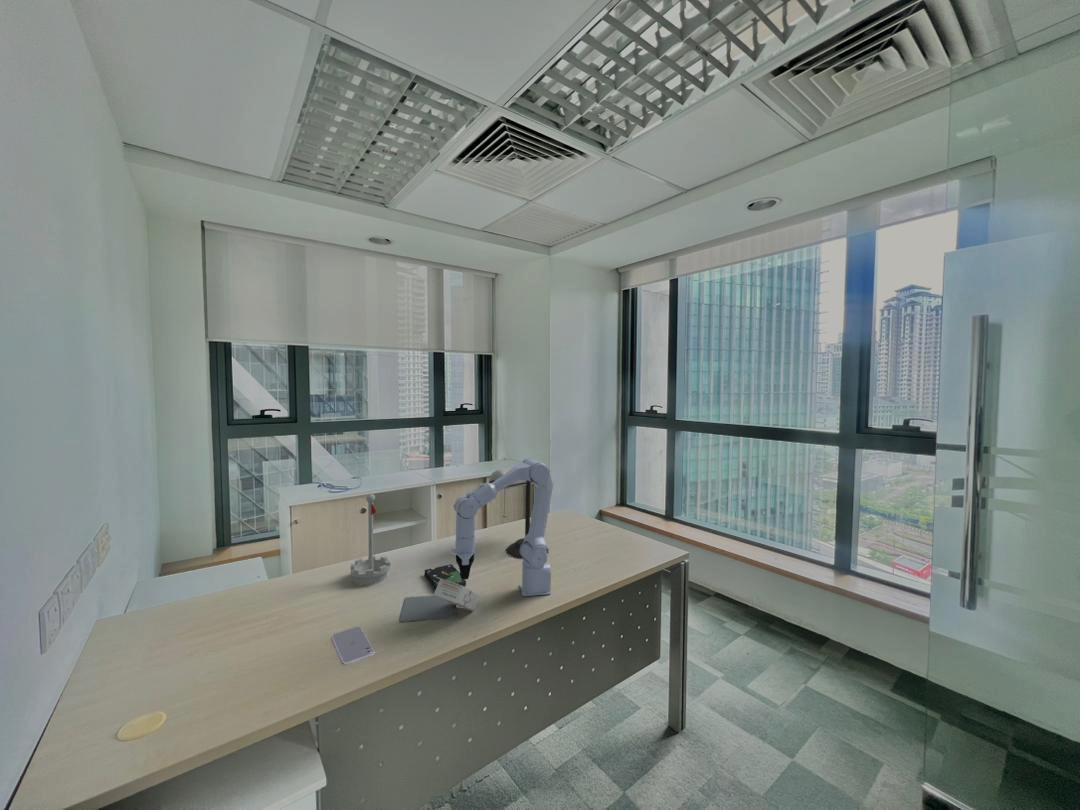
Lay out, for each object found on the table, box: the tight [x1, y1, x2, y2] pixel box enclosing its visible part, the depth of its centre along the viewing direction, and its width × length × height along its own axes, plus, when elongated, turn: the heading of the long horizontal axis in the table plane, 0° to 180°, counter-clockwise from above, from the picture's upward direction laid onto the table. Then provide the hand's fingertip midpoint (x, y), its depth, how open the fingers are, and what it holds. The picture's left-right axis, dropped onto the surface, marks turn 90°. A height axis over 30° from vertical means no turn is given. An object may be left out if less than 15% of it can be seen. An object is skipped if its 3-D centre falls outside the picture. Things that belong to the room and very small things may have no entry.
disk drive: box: [424, 563, 467, 590], centre depth 149 cm, size 10×3×15 cm
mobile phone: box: [331, 626, 375, 664], centre depth 112 cm, size 8×1×15 cm
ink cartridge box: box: [433, 577, 480, 612], centre depth 127 cm, size 9×5×15 cm
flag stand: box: [350, 493, 391, 586], centre depth 150 cm, size 13×13×30 cm
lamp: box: [487, 466, 549, 560], centre depth 179 cm, size 26×24×34 cm
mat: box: [399, 594, 457, 623], centre depth 131 cm, size 16×14×1 cm
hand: (464, 578), depth 133 cm, fingers closed
